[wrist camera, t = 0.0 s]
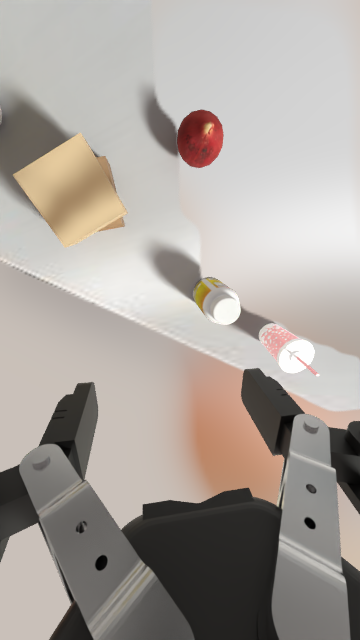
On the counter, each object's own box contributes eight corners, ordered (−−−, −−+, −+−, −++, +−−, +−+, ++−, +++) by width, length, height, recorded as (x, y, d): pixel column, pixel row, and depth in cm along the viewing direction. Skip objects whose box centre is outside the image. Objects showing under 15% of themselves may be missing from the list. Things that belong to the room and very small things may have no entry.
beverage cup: (249, 341, 47) (289, 385, 35) (266, 314, 46) (315, 350, 33) (273, 351, 49) (319, 397, 36) (290, 326, 48) (345, 364, 35)
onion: (210, 175, 36) (228, 163, 28) (171, 168, 34) (180, 154, 27) (217, 127, 33) (238, 101, 26) (176, 119, 32) (186, 88, 25)
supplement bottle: (197, 311, 43) (213, 336, 34) (188, 283, 41) (202, 300, 32) (226, 300, 43) (250, 322, 34) (218, 271, 41) (241, 286, 32)
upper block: (32, 182, 29) (12, 174, 24) (90, 147, 28) (80, 132, 24) (75, 244, 32) (65, 247, 27) (127, 213, 31) (125, 211, 27)
